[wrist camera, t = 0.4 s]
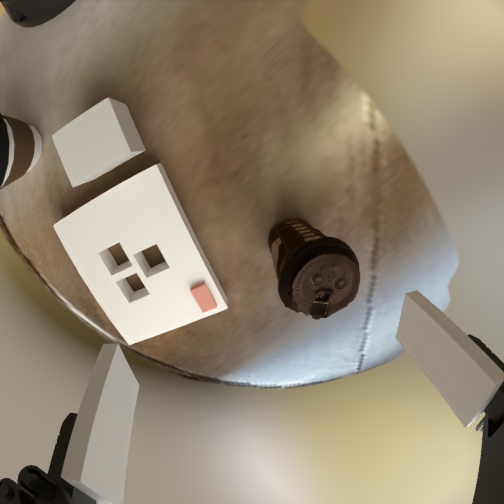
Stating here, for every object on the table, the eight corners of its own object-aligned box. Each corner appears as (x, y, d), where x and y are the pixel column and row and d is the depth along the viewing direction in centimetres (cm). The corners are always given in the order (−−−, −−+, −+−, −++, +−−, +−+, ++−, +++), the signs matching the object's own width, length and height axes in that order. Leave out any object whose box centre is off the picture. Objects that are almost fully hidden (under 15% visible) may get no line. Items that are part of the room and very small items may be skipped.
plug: (103, 176, 31) (72, 187, 22) (86, 135, 28) (51, 135, 20) (151, 149, 30) (131, 152, 22) (133, 107, 28) (108, 97, 20)
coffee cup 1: (26, 97, 24) (-28, 91, 13) (69, 135, 28) (15, 137, 17) (-6, 161, 26) (-59, 174, 15) (33, 201, 30) (-19, 227, 19)
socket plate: (133, 332, 39) (128, 348, 36) (63, 219, 31) (50, 227, 28) (226, 296, 39) (228, 311, 36) (161, 162, 31) (155, 164, 28)
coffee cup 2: (281, 281, 39) (310, 339, 27) (245, 238, 36) (263, 286, 24) (331, 244, 38) (378, 288, 26) (299, 196, 35) (343, 226, 23)
